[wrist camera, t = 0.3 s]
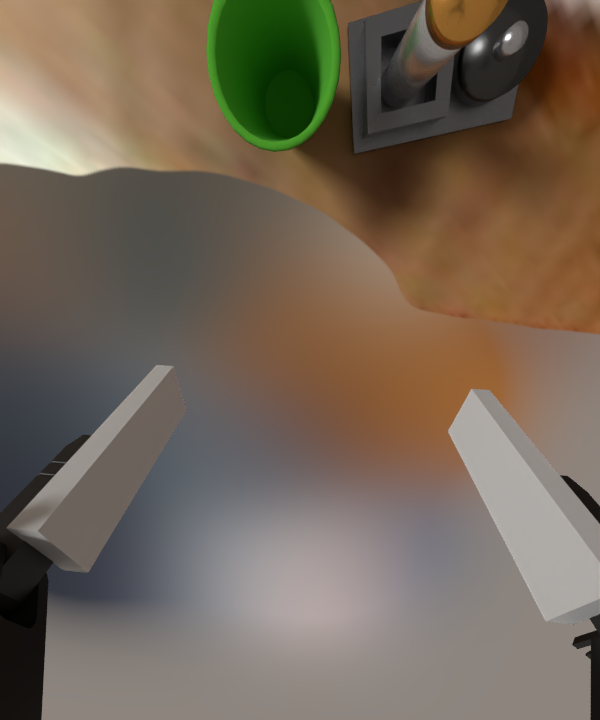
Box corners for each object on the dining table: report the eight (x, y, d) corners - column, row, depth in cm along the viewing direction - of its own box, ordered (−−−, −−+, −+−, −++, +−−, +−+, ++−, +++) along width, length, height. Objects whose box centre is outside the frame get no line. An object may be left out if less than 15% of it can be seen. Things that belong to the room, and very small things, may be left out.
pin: (379, 58, 23) (438, -77, 11) (423, 45, 23) (533, -110, 11) (379, 114, 25) (429, 49, 13) (419, 104, 25) (509, 27, 13)
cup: (352, 104, 26) (369, 58, 17) (291, 183, 30) (278, 180, 21) (287, 7, 23) (264, -115, 13) (228, 110, 27) (180, 69, 17)
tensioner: (347, 28, 23) (353, -7, 19) (534, -27, 21) (587, -82, 17) (353, 154, 28) (358, 148, 24) (505, 120, 26) (540, 107, 21)
